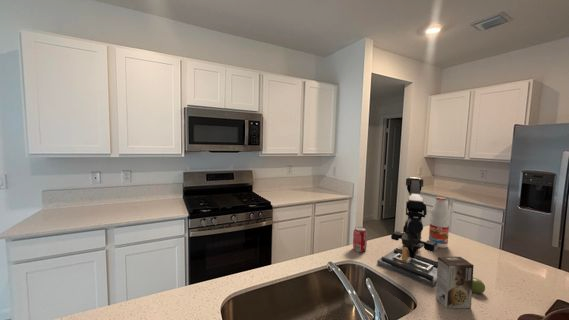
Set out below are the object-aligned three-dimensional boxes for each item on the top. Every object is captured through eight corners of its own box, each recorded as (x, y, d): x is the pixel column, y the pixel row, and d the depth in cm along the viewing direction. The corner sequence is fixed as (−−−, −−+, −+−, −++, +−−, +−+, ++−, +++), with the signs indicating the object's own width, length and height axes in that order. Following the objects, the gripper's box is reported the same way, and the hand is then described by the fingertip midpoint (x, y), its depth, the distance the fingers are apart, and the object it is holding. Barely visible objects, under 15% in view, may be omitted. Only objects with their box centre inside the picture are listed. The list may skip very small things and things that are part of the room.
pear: (476, 282, 91) (453, 272, 101) (477, 296, 91) (454, 285, 101) (488, 280, 92) (464, 271, 102) (489, 295, 92) (465, 284, 102)
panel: (395, 252, 128) (396, 246, 128) (448, 271, 110) (448, 264, 109) (377, 264, 115) (377, 257, 114) (433, 287, 97) (433, 279, 96)
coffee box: (457, 297, 91) (460, 256, 90) (471, 308, 84) (475, 264, 83) (434, 297, 90) (437, 256, 89) (446, 308, 84) (449, 264, 83)
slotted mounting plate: (381, 259, 115) (381, 257, 115) (396, 250, 126) (397, 247, 126) (432, 280, 98) (432, 276, 98) (444, 266, 109) (445, 263, 109)
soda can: (364, 247, 133) (365, 226, 132) (367, 253, 126) (368, 231, 125) (351, 246, 134) (352, 226, 133) (354, 252, 127) (355, 230, 126)
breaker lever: (402, 258, 117) (402, 246, 117) (410, 261, 114) (411, 248, 114) (399, 259, 115) (400, 247, 115) (408, 263, 112) (408, 250, 112)
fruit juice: (447, 244, 140) (450, 197, 138) (447, 249, 132) (450, 200, 131) (429, 240, 145) (431, 195, 144) (427, 245, 138) (430, 197, 136)
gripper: (386, 224, 113) (385, 256, 114) (430, 236, 99) (428, 272, 100) (396, 219, 120) (395, 249, 121) (439, 230, 106) (437, 264, 107)
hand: (412, 258), depth 112 cm, fingers closed
